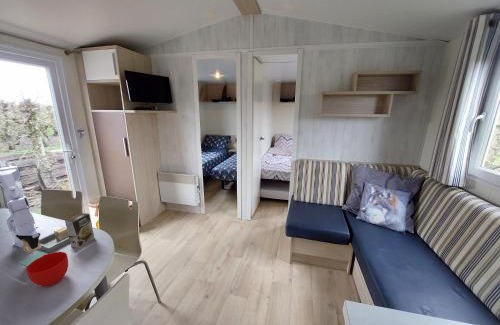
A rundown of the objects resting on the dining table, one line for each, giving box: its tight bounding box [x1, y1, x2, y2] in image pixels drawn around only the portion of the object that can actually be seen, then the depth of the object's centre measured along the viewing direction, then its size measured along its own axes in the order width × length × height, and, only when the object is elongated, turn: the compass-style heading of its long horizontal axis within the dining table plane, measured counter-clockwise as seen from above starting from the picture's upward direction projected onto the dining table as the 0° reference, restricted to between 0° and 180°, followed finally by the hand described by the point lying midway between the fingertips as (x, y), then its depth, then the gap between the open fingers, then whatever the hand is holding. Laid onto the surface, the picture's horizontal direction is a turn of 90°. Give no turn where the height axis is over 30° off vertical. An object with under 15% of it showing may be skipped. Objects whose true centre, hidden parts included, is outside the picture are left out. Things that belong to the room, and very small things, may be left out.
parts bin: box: [38, 232, 70, 253], centre depth 119 cm, size 14×14×3 cm
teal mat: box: [18, 250, 49, 268], centre depth 106 cm, size 9×9×1 cm
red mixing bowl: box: [25, 251, 69, 288], centre depth 93 cm, size 13×17×10 cm
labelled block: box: [21, 239, 41, 254], centre depth 104 cm, size 5×5×6 cm
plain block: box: [53, 226, 69, 242], centre depth 121 cm, size 5×5×6 cm
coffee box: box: [64, 212, 96, 248], centre depth 117 cm, size 9×6×16 cm
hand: (31, 246), depth 104 cm, fingers closed on labelled block, 5 cm apart
